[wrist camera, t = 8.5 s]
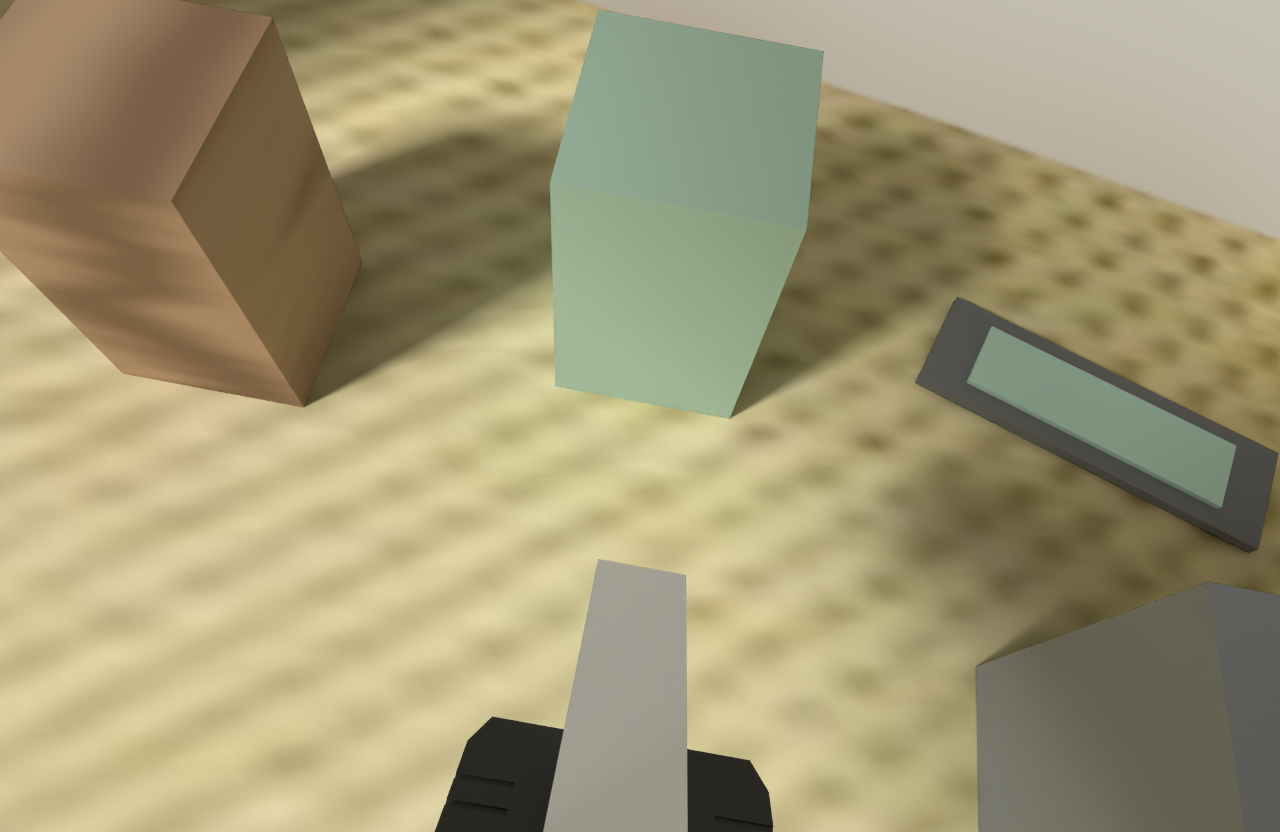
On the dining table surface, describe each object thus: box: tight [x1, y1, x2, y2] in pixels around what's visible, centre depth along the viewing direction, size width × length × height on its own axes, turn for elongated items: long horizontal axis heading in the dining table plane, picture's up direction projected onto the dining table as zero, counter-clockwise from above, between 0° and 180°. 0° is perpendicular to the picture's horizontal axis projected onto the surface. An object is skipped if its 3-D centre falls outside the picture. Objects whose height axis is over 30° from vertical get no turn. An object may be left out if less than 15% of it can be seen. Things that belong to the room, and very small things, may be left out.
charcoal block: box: [976, 582, 1280, 832], centre depth 19 cm, size 6×6×10 cm
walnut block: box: [0, 0, 362, 407], centre depth 24 cm, size 6×6×10 cm
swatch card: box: [915, 297, 1279, 553], centre depth 29 cm, size 12×4×1 cm, turn 60°
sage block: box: [550, 10, 824, 419], centre depth 25 cm, size 6×6×10 cm
